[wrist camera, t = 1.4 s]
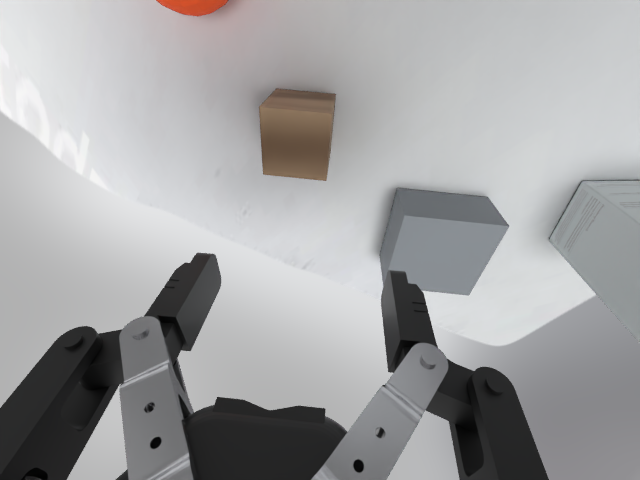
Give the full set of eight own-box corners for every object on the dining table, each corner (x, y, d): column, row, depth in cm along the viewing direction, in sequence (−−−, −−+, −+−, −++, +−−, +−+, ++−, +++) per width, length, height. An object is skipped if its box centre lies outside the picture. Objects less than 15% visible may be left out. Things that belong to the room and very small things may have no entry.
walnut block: (276, 88, 24) (259, 106, 20) (335, 93, 24) (332, 113, 20) (277, 146, 28) (263, 174, 23) (330, 151, 27) (326, 180, 23)
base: (397, 187, 29) (404, 215, 25) (487, 197, 29) (509, 226, 25) (379, 255, 35) (383, 286, 31) (455, 263, 35) (468, 295, 31)
